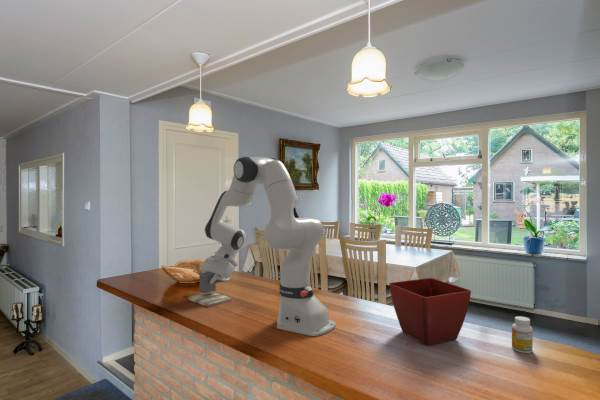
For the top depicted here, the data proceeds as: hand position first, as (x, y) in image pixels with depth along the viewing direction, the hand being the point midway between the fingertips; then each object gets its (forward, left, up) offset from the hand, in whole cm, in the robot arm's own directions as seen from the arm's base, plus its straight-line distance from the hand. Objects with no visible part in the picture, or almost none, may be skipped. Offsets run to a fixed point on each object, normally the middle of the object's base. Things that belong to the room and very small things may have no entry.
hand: (206, 282), depth 164 cm
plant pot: (-95, -23, -7) cm, 98 cm away
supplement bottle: (-121, -31, -7) cm, 125 cm away
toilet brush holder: (+20, -26, -7) cm, 34 cm away
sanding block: (0, -1, -5) cm, 5 cm away
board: (-5, +1, -7) cm, 9 cm away
